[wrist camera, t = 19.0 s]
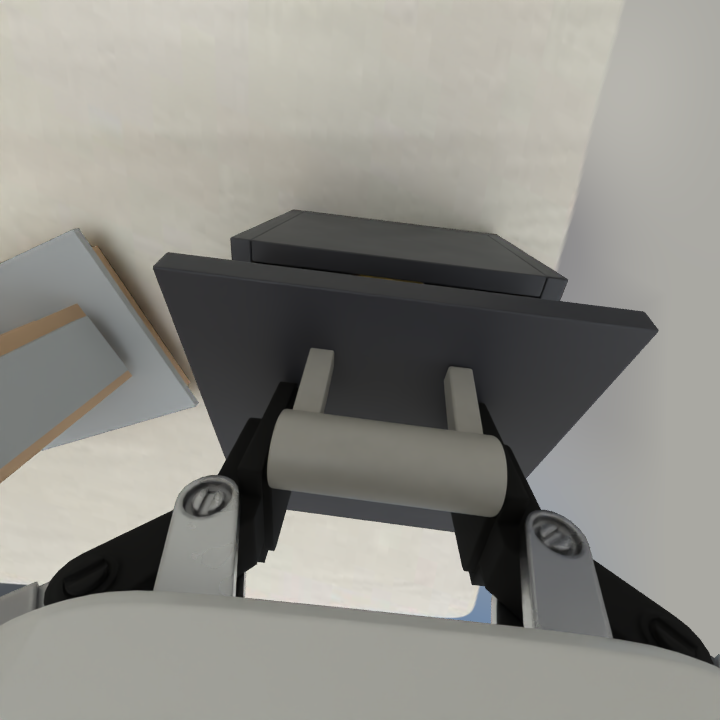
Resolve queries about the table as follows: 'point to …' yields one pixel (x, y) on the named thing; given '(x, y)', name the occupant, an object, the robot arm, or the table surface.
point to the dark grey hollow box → (397, 253)
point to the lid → (391, 381)
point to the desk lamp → (75, 352)
